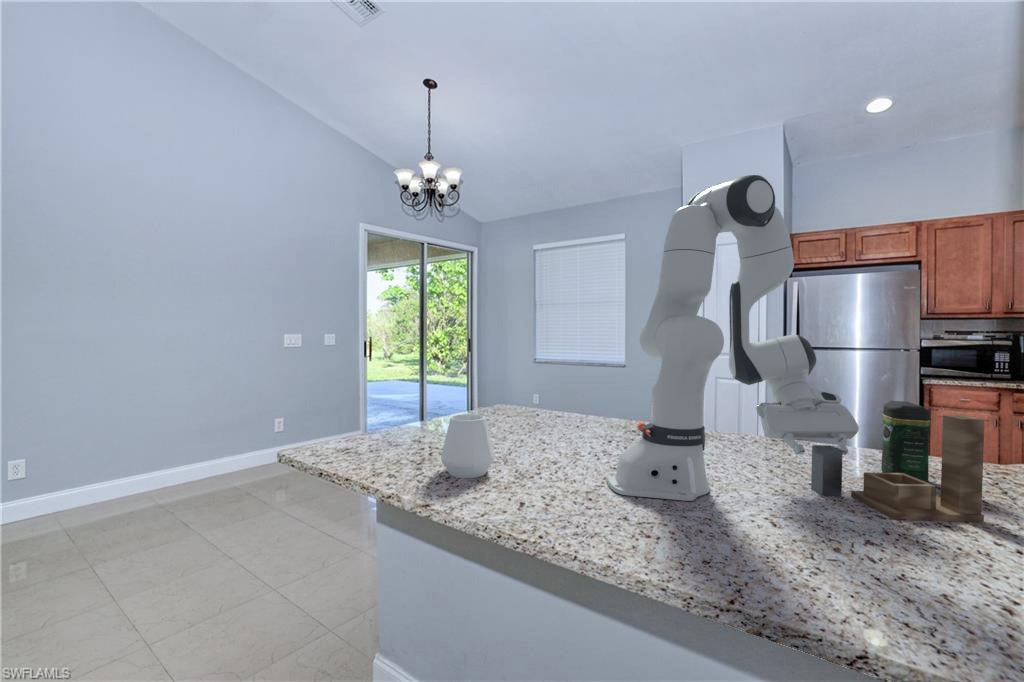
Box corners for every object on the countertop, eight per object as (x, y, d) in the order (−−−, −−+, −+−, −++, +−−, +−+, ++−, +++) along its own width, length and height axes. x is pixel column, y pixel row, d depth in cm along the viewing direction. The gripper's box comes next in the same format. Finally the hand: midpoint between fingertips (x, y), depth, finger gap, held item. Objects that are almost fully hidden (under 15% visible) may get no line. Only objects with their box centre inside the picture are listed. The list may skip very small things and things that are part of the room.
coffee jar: (934, 487, 104) (937, 406, 103) (891, 482, 107) (893, 404, 106) (915, 474, 113) (918, 400, 112) (876, 470, 116) (878, 398, 115)
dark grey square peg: (822, 495, 98) (823, 449, 98) (811, 489, 102) (812, 445, 102) (841, 496, 98) (842, 450, 98) (829, 489, 102) (830, 445, 102)
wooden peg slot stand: (894, 519, 86) (897, 418, 86) (851, 496, 98) (853, 407, 98) (983, 521, 85) (987, 420, 85) (928, 497, 97) (931, 408, 97)
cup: (486, 462, 122) (486, 410, 122) (501, 478, 109) (501, 420, 109) (436, 466, 118) (436, 413, 118) (446, 483, 105) (446, 424, 105)
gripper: (758, 395, 110) (779, 445, 100) (845, 395, 109) (875, 446, 99) (749, 410, 114) (769, 460, 105) (833, 410, 113) (861, 460, 104)
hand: (822, 453), depth 102 cm, fingers open, 8 cm apart
